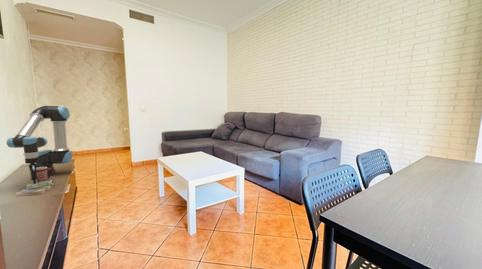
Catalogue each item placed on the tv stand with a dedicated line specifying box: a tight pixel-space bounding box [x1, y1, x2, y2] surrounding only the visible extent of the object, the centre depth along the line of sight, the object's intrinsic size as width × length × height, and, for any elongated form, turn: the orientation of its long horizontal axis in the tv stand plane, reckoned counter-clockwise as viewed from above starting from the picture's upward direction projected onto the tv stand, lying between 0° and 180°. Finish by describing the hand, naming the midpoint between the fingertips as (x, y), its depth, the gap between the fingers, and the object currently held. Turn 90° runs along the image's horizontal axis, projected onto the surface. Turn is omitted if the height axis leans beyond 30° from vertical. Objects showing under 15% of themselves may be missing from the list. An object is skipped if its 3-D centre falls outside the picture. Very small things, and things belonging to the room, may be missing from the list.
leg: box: [25, 178, 53, 189], centre depth 168 cm, size 15×4×4 cm, turn 145°
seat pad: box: [19, 187, 41, 193], centre depth 162 cm, size 11×11×1 cm
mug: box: [36, 167, 53, 182], centre depth 180 cm, size 13×9×14 cm
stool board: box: [15, 179, 55, 197], centre depth 165 cm, size 18×14×6 cm
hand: (34, 187), depth 164 cm, fingers closed
